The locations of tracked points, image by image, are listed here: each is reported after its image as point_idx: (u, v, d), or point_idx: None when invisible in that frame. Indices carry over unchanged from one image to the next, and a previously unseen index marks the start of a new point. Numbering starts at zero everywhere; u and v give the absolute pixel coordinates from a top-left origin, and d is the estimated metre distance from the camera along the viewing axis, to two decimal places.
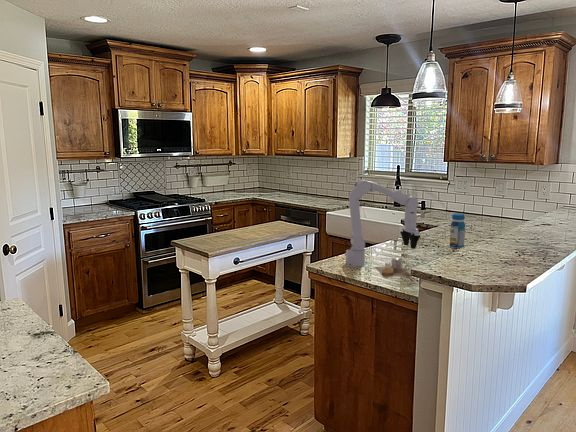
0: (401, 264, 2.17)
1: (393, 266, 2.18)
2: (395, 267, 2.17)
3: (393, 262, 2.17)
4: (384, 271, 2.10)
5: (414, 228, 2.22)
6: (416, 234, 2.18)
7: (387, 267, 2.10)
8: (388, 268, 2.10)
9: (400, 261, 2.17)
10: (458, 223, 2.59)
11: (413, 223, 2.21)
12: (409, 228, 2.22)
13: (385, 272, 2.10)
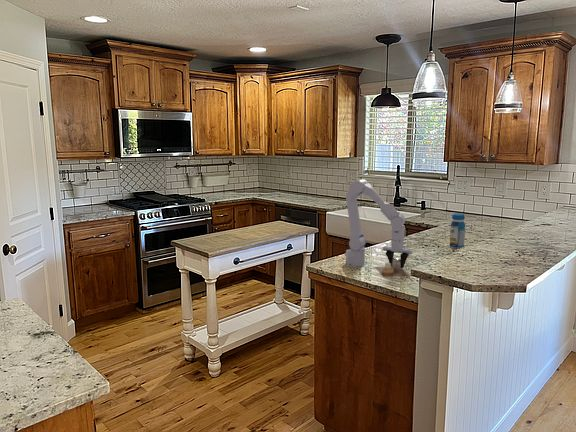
0: None
1: (393, 266, 2.18)
2: (395, 267, 2.17)
3: (393, 262, 2.17)
4: (384, 271, 2.10)
5: None
6: (411, 253, 2.13)
7: (387, 267, 2.10)
8: (388, 268, 2.10)
9: (400, 261, 2.17)
10: (458, 223, 2.59)
11: (403, 242, 2.16)
12: (400, 248, 2.15)
13: (385, 272, 2.10)
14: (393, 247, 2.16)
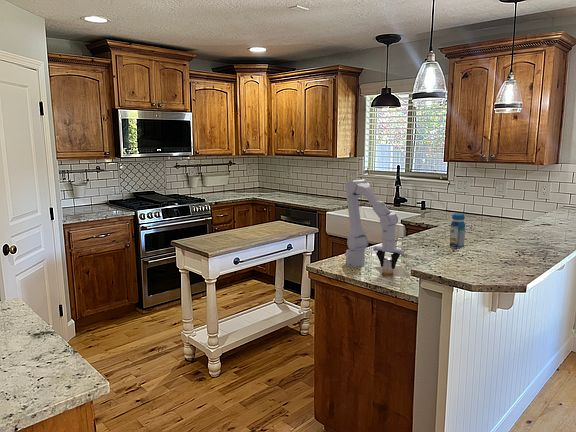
0: None
1: (384, 267, 2.10)
2: (386, 268, 2.09)
3: (384, 262, 2.09)
4: (384, 271, 2.10)
5: (394, 247, 2.09)
6: (402, 253, 2.05)
7: None
8: None
9: (391, 261, 2.09)
10: (458, 223, 2.59)
11: (394, 242, 2.08)
12: (391, 248, 2.07)
13: (385, 272, 2.10)
14: (384, 247, 2.08)
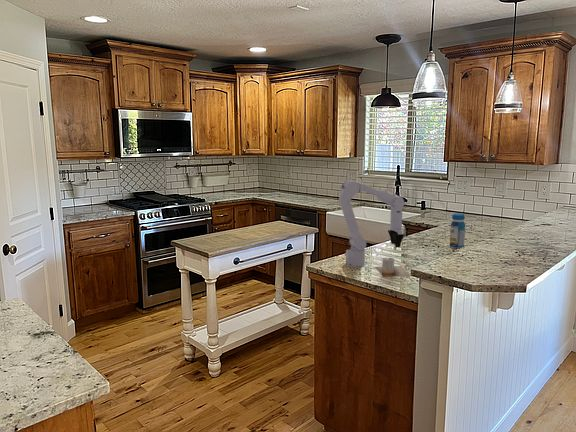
0: (385, 265, 2.09)
1: None
2: None
3: None
4: (384, 271, 2.10)
5: (399, 227, 2.25)
6: (399, 233, 2.21)
7: None
8: None
9: (383, 261, 2.10)
10: (458, 223, 2.59)
11: (398, 222, 2.25)
12: (394, 227, 2.25)
13: (385, 272, 2.10)
14: (390, 226, 2.28)
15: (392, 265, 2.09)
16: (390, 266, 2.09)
